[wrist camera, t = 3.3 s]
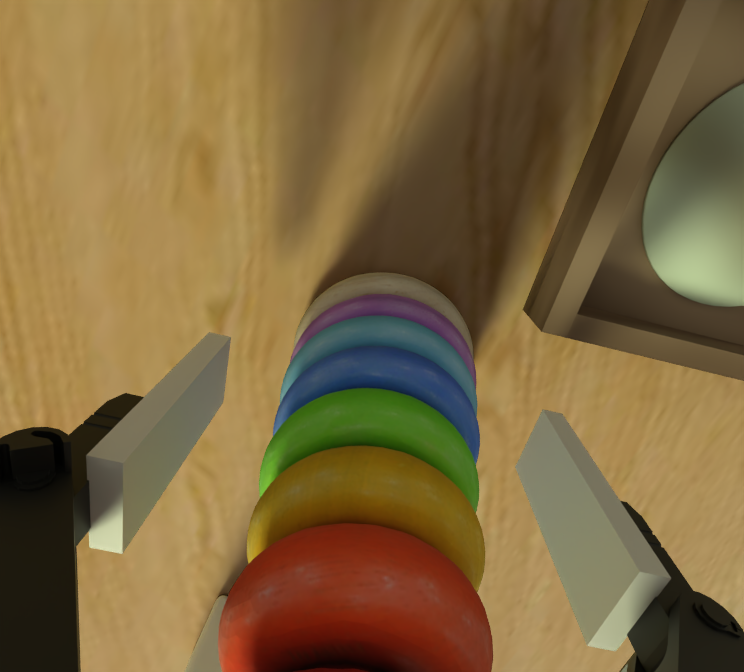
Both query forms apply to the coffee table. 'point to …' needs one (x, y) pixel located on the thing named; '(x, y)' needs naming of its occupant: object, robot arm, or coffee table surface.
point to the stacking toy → (368, 496)
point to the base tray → (660, 201)
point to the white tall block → (208, 643)
